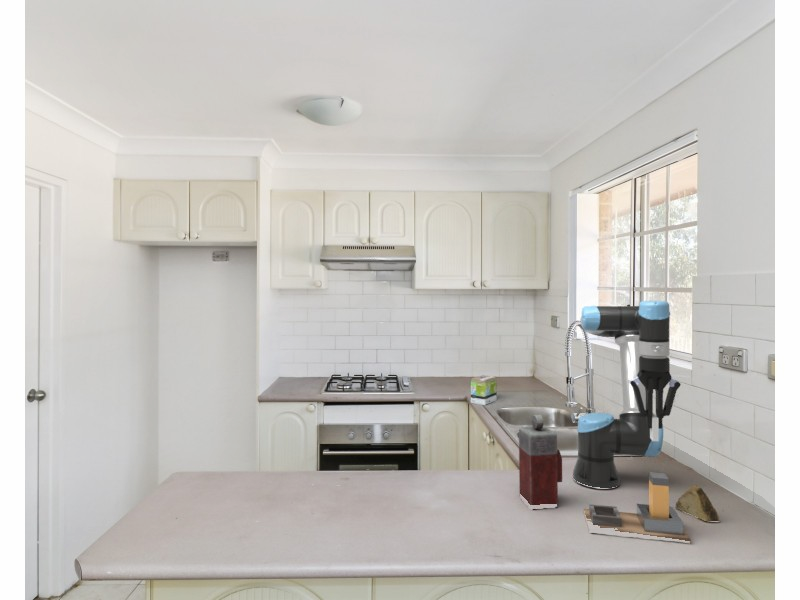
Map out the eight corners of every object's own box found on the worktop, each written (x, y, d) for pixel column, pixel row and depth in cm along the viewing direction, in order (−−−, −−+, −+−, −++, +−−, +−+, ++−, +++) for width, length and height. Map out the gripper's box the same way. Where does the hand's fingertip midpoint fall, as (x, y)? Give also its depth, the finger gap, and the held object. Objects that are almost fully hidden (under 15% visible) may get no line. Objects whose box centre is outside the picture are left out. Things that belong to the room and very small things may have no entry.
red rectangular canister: (565, 507, 148) (564, 417, 147) (530, 510, 146) (529, 419, 145) (551, 494, 156) (550, 410, 156) (519, 497, 155) (518, 412, 154)
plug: (649, 520, 135) (648, 472, 135) (664, 522, 134) (664, 473, 134) (652, 527, 131) (652, 477, 131) (668, 529, 130) (668, 478, 130)
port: (636, 515, 138) (636, 503, 138) (672, 518, 136) (672, 506, 136) (644, 531, 129) (644, 518, 129) (683, 535, 127) (683, 522, 127)
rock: (664, 500, 146) (682, 510, 136) (679, 476, 147) (699, 485, 137) (694, 521, 145) (715, 534, 136) (709, 498, 146) (731, 509, 136)
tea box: (485, 405, 275) (485, 380, 274) (470, 403, 281) (469, 378, 280) (497, 400, 287) (496, 376, 286) (482, 398, 293) (481, 374, 292)
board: (583, 513, 143) (583, 500, 143) (676, 522, 137) (676, 508, 137) (589, 533, 132) (589, 519, 132) (690, 544, 125) (690, 529, 125)
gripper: (631, 358, 131) (632, 442, 132) (684, 358, 128) (684, 445, 129) (625, 353, 138) (626, 434, 139) (675, 354, 135) (675, 436, 136)
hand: (654, 439), depth 134 cm, fingers closed
